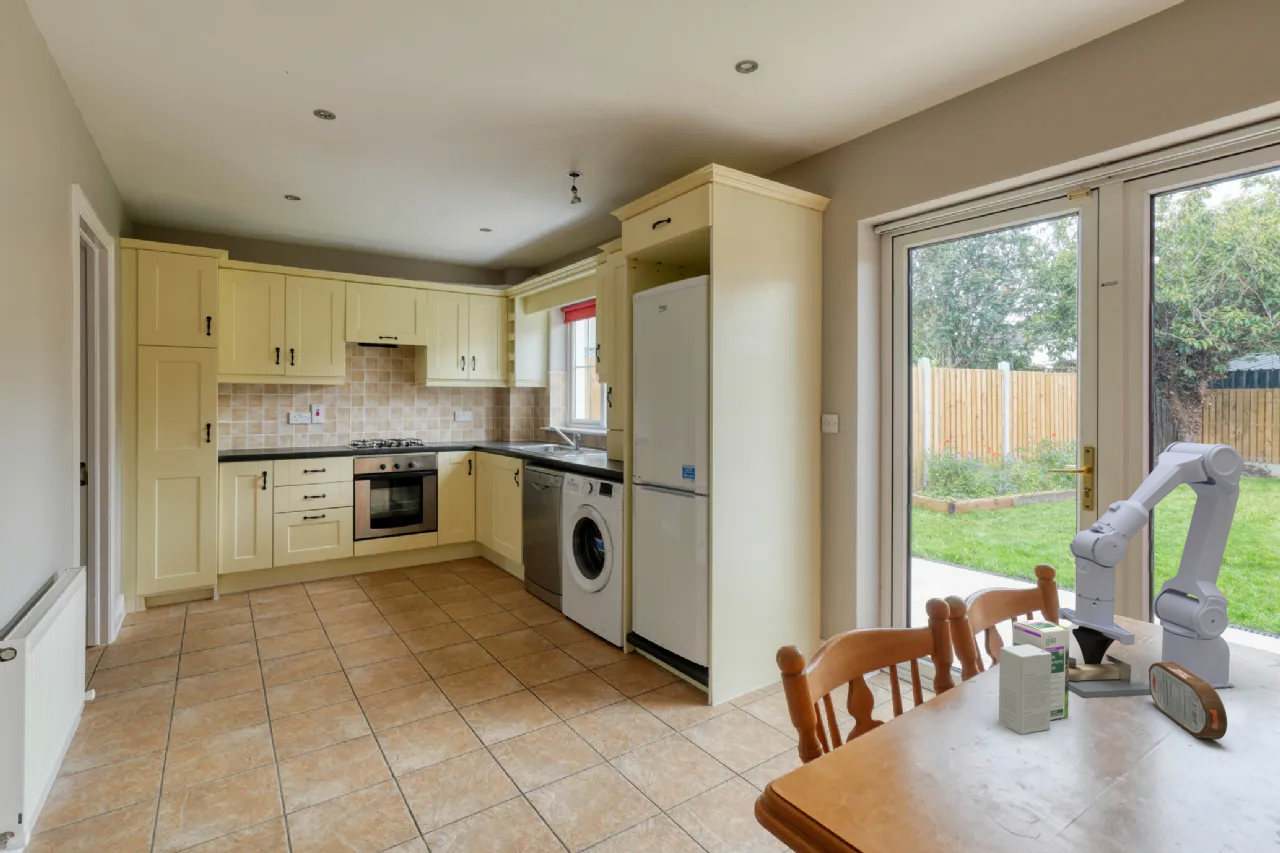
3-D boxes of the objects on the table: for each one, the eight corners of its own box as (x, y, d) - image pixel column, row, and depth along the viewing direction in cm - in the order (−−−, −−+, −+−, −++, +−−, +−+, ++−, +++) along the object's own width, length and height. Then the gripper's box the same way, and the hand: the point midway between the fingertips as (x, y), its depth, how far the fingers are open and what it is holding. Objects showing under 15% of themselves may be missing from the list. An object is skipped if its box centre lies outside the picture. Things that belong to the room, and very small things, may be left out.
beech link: (1069, 681, 111) (1070, 662, 111) (1056, 674, 114) (1057, 655, 114) (1132, 679, 113) (1133, 660, 112) (1118, 672, 116) (1119, 654, 115)
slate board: (1100, 668, 120) (1101, 663, 120) (1155, 694, 109) (1155, 688, 109) (1035, 671, 118) (1035, 666, 118) (1083, 697, 108) (1083, 691, 108)
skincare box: (1026, 717, 100) (1028, 643, 100) (1050, 730, 96) (1053, 653, 96) (996, 721, 98) (998, 646, 98) (1020, 735, 94) (1022, 656, 94)
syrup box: (1042, 723, 98) (1045, 631, 98) (1009, 706, 104) (1012, 619, 104) (1068, 718, 100) (1071, 628, 100) (1034, 701, 106) (1037, 616, 105)
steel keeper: (1114, 673, 116) (1115, 653, 116) (1140, 685, 111) (1141, 664, 111) (1104, 673, 116) (1105, 653, 115) (1130, 685, 110) (1131, 665, 110)
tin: (1228, 750, 91) (1231, 693, 91) (1203, 747, 92) (1205, 691, 92) (1164, 703, 106) (1166, 654, 106) (1143, 701, 107) (1145, 652, 106)
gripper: (1044, 586, 122) (1042, 654, 122) (1110, 609, 107) (1107, 687, 108) (1077, 585, 123) (1074, 653, 123) (1146, 608, 108) (1143, 685, 109)
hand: (1092, 669), depth 115 cm, fingers closed
